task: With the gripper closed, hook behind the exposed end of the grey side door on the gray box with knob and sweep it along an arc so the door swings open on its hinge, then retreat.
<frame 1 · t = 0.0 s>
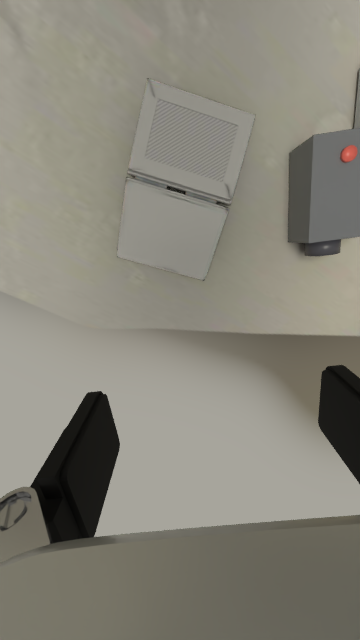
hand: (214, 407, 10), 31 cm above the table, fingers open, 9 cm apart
gadget: (179, 194, 36), on the table
gray box with knob: (316, 196, 36), on the table
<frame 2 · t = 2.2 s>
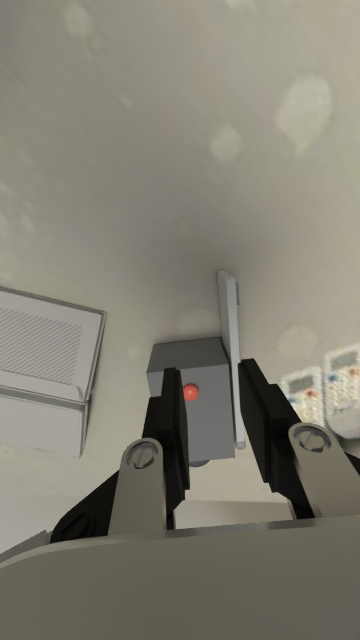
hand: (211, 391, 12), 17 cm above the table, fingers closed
side door: (232, 362, 27), point 3 cm above the table, hinge at 0.0°
gadget: (39, 375, 32), on the table
gray box with knob: (191, 382, 31), on the table
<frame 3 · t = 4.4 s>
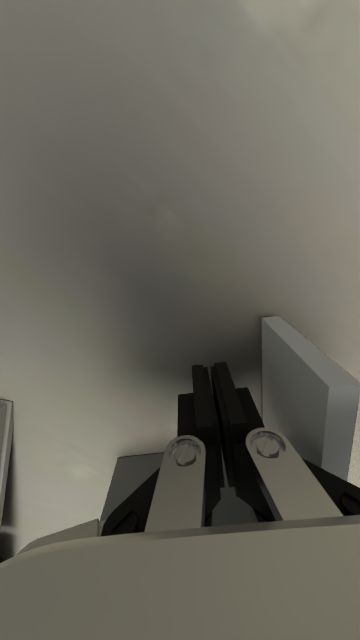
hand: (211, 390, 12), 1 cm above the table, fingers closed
side door: (293, 520, 12), point 3 cm above the table, hinge at 1.8°, touching gripper
gray box with knob: (195, 516, 17), on the table
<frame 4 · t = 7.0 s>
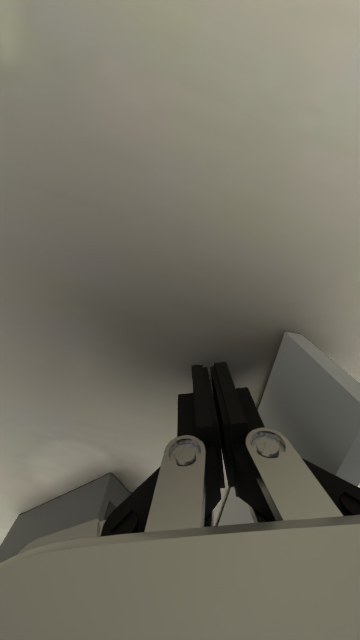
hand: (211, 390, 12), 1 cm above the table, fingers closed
side door: (256, 533, 12), point 3 cm above the table, hinge at 41.4°, touching gripper
gray box with knob: (116, 545, 18), on the table
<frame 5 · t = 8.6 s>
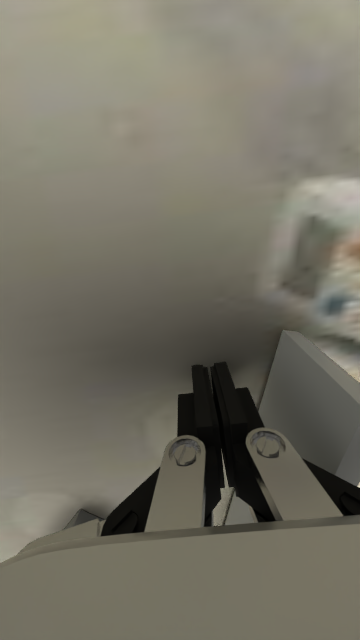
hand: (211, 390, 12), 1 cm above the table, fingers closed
side door: (262, 532, 12), point 3 cm above the table, hinge at 63.2°, touching gripper
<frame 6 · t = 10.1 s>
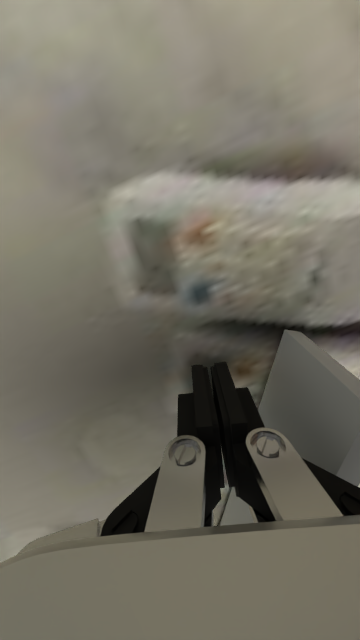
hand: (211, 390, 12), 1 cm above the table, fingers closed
side door: (258, 531, 12), point 3 cm above the table, hinge at 81.5°, touching gripper
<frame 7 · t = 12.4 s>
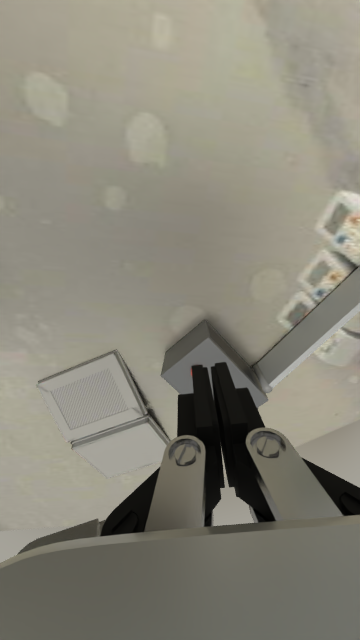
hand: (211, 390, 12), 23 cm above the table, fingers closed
side door: (313, 331, 32), point 3 cm above the table, hinge at 81.6°
gadget: (112, 416, 42), on the table
gray box with knob: (211, 362, 37), on the table
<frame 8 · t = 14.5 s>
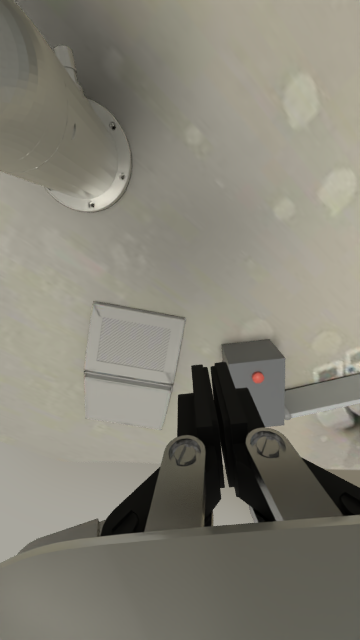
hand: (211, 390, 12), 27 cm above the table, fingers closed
side door: (336, 393, 40), point 3 cm above the table, hinge at 81.6°
gadget: (132, 368, 43), on the table
gray box with knob: (246, 372, 42), on the table
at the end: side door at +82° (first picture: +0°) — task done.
